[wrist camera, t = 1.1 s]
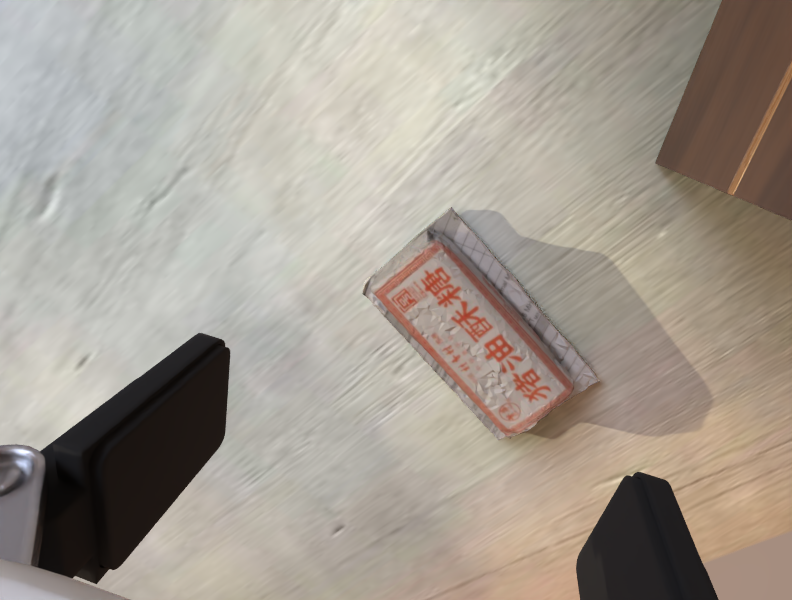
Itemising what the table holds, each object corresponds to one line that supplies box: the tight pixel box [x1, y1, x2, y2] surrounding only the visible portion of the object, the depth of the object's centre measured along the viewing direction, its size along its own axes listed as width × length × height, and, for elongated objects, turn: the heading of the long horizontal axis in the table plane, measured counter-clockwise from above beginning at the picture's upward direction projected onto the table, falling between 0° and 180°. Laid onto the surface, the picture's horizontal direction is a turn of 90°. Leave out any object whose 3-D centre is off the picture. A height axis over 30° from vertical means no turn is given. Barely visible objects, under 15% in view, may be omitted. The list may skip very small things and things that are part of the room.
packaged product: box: [362, 207, 600, 440], centre depth 36 cm, size 18×5×10 cm
